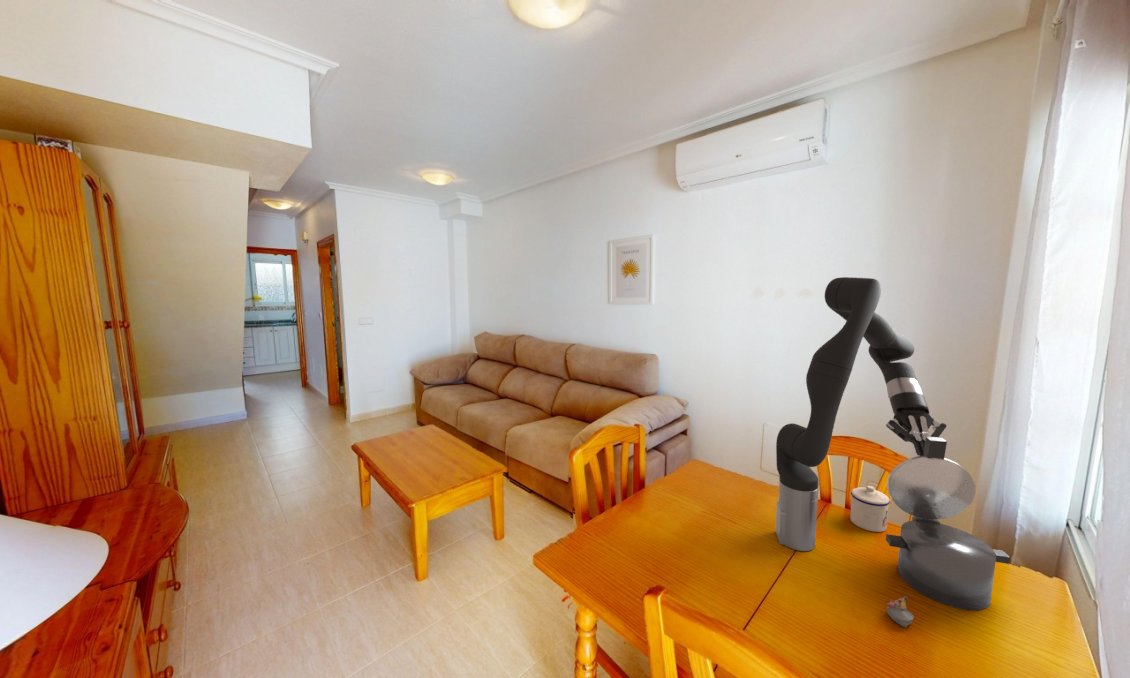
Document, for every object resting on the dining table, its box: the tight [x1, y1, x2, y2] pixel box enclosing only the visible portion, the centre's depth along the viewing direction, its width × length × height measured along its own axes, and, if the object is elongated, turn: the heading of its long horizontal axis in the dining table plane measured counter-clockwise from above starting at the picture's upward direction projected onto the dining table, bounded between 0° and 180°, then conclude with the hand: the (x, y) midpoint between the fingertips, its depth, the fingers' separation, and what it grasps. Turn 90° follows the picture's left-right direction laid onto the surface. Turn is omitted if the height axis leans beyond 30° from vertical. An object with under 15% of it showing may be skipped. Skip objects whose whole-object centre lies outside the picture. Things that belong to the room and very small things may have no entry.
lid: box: [886, 436, 977, 520], centre depth 99 cm, size 22×17×3 cm
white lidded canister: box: [849, 485, 891, 533], centre depth 118 cm, size 12×9×12 cm
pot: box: [885, 515, 1011, 611], centre depth 94 cm, size 22×17×11 cm
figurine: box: [886, 595, 915, 628], centre depth 84 cm, size 5×4×6 cm
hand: (925, 457), depth 101 cm, fingers closed
